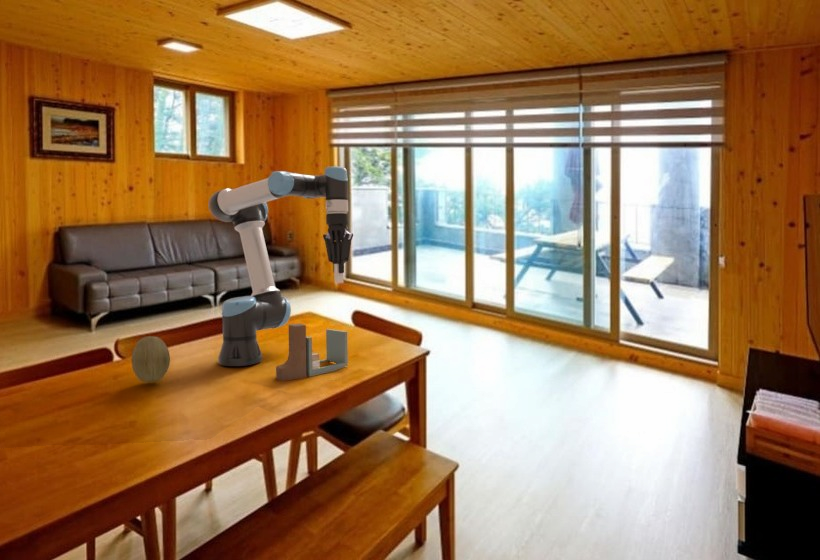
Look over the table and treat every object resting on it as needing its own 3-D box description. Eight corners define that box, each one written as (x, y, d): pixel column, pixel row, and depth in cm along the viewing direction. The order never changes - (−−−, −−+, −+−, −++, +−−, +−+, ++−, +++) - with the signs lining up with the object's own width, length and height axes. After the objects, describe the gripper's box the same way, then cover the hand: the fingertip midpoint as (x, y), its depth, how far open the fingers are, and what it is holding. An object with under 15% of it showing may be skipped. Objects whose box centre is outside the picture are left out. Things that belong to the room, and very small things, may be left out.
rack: (291, 372, 190) (290, 335, 189) (329, 364, 203) (328, 329, 202) (309, 376, 183) (308, 338, 183) (347, 367, 196) (347, 331, 196)
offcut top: (300, 359, 190) (300, 352, 190) (307, 357, 193) (307, 351, 193) (312, 361, 186) (312, 355, 186) (319, 360, 188) (319, 353, 188)
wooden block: (281, 382, 178) (280, 327, 176) (275, 379, 182) (275, 325, 180) (306, 378, 183) (306, 325, 182) (301, 375, 187) (300, 323, 185)
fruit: (178, 378, 182) (176, 333, 181) (152, 387, 171) (150, 339, 170) (150, 376, 186) (149, 332, 185) (123, 384, 175) (121, 337, 174)
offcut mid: (299, 365, 191) (299, 359, 191) (307, 364, 193) (306, 357, 193) (312, 368, 186) (312, 361, 186) (319, 367, 189) (319, 360, 189)
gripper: (316, 214, 187) (318, 283, 189) (342, 211, 179) (343, 284, 180) (332, 214, 193) (334, 281, 194) (358, 212, 185) (360, 282, 186)
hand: (339, 282), depth 187 cm, fingers closed
